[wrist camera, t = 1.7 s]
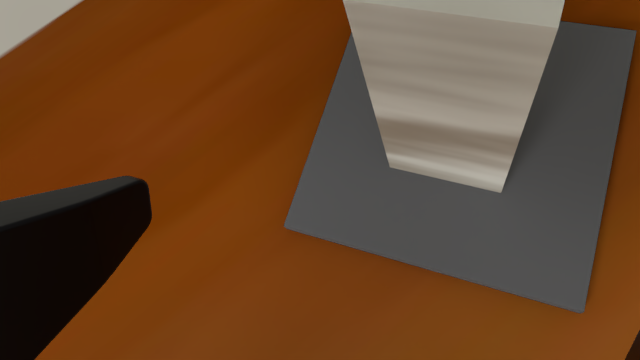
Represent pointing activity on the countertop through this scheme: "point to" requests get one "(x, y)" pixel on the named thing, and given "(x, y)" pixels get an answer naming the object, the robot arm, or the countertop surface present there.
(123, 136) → the countertop surface
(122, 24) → the countertop surface
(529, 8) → the tall block
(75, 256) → the robot arm
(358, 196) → the rubber mat
